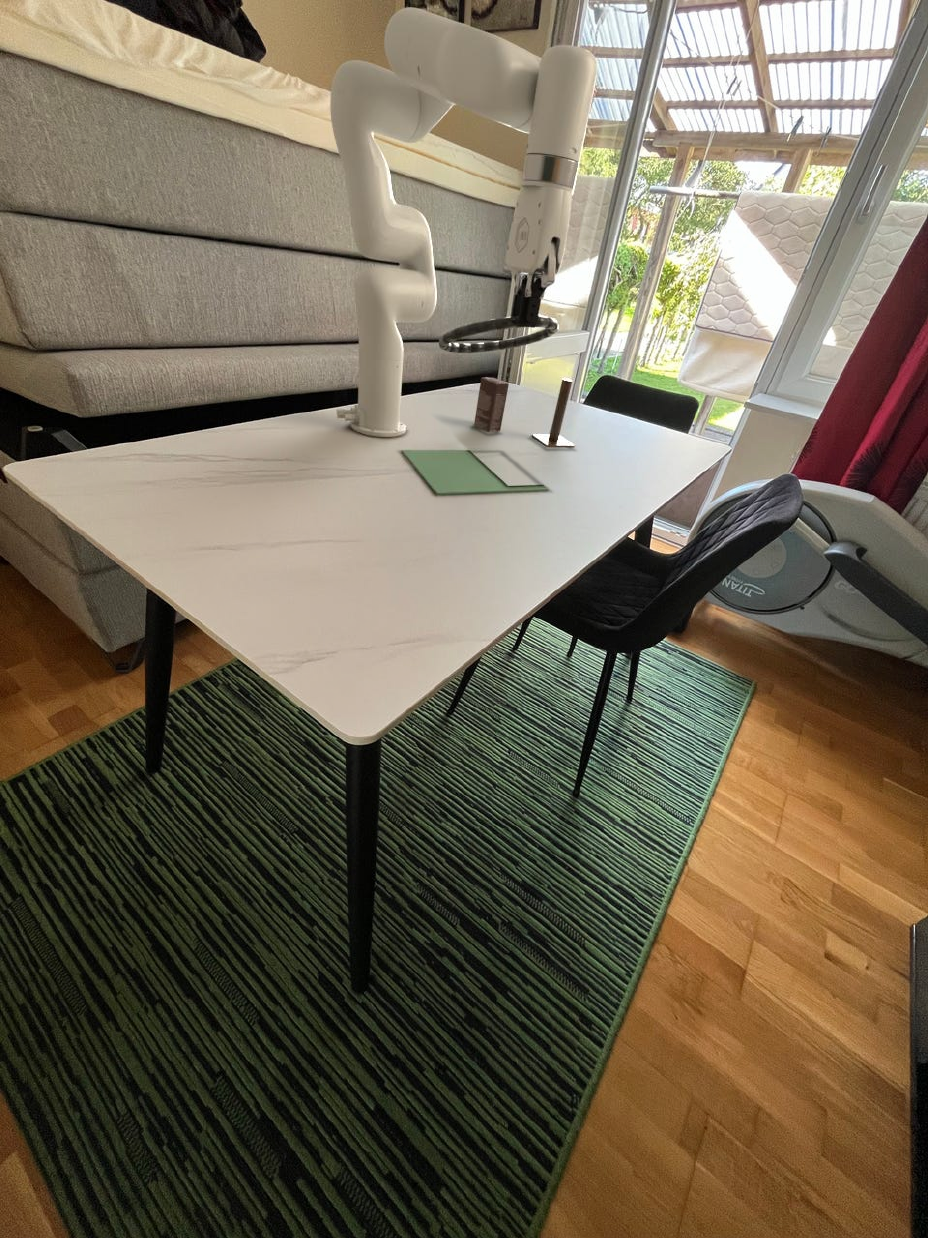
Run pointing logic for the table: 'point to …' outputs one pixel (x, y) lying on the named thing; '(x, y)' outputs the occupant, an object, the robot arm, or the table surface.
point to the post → (557, 420)
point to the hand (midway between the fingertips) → (523, 324)
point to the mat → (460, 473)
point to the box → (491, 404)
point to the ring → (492, 325)
